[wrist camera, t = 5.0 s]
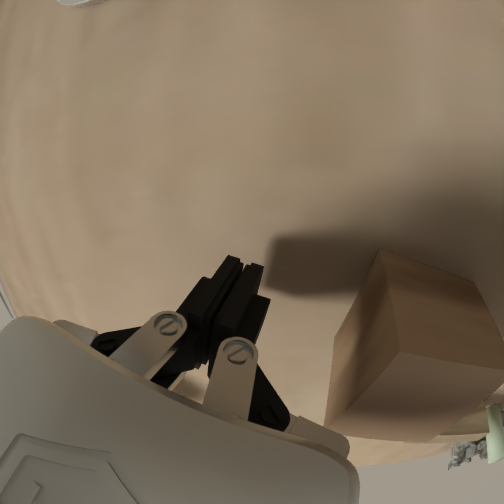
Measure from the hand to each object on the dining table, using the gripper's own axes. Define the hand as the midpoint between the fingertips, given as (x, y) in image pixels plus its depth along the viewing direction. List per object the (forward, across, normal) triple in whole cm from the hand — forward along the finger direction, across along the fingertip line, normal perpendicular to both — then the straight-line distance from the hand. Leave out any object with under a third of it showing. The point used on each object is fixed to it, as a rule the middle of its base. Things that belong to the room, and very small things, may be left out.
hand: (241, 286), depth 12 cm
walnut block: (+2, -8, 0) cm, 9 cm away
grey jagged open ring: (+2, -30, +14) cm, 33 cm away
